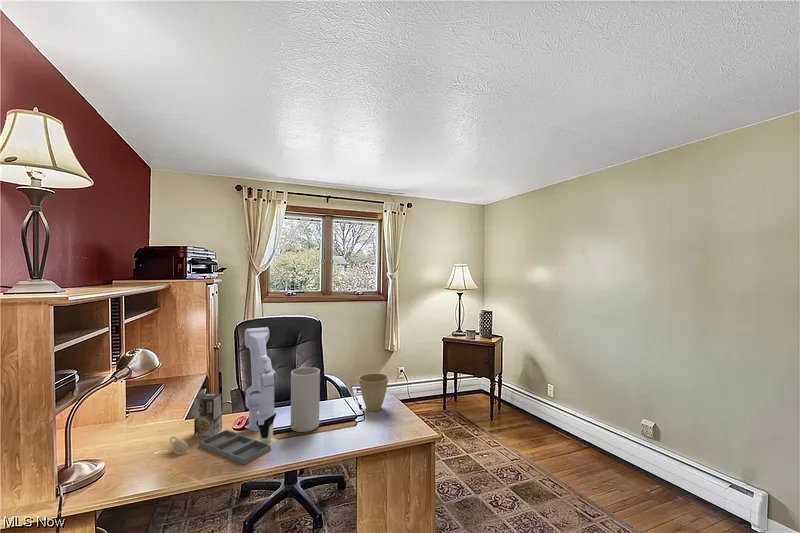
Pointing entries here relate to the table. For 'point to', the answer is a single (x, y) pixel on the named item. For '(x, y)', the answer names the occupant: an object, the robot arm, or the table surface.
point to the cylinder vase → (305, 399)
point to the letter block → (270, 433)
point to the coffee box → (207, 414)
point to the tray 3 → (249, 452)
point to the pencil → (175, 473)
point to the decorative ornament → (180, 446)
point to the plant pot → (373, 390)
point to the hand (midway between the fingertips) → (266, 434)
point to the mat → (269, 441)
